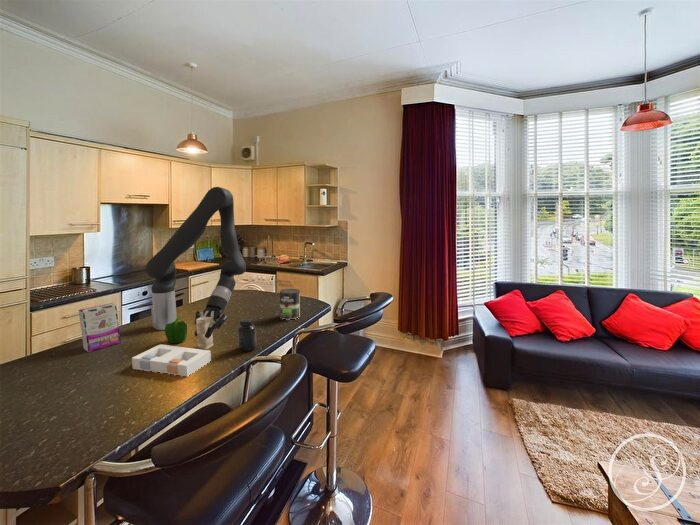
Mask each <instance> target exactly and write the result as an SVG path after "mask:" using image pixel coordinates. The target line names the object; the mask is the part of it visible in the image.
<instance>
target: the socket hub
mask: <svg viewBox="0 0 700 525" xmlns="http://www.w3.org/2000/svg"><path fill="white" fill-rule="evenodd" d="M210 361H211V362H212V354H211V350H209V349H199V348H192V347H183V346H178V345H177V346H176V345H168V344H158V345H156V346H154V347H152V348H149V349H148V350H145V351H143V352H141V353H139V354H137V355H134V356H133V357H131V365H132V366H131V367H132V370H139V371H143V370H144V371H145V372H150V371H152V373H157V372H160V373H159V374H163V373H168V374H167V375H170V374H174V375H173V376H176V375H181V376H180V377H183V376H186V377H185V378H188V377H190V376H191V375H192V373H193V374H194V373H196V372H197V371H199V370H200V369H202V368H203V367H205V366H206V365H208V364H209V363H210ZM207 363H208V364H207ZM204 365H205V366H204ZM201 367H202V368H201ZM198 369H199V370H198ZM195 371H196V372H195ZM190 374H191V375H190ZM189 375H190V376H189Z"/></svg>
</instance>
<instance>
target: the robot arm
mask: <svg viewBox="0 0 700 525" xmlns="http://www.w3.org/2000/svg"><path fill="white" fill-rule="evenodd" d="M234 203H235V202H234V195H233V194H232V192H231V191H230V190H228V189H226V188H223V187H220V186H213V187H211V188H210V189H209V190H208V191H207V192H206V194H204V197H203V198H202V199H201V200H200V203H199V204H198V205H197V207H196V208H195V209H194V210H193V211H192V212H191V213H190V214H189V216H188V217H187V218H186V220H185V221H184V222H182V224H180V226H179V227H178V228H177V230H175V232H174V233H173V235H171V237H170V238H169V240H168V241H167V242H166V243H165V244H164V246H163V247H161V249H160V250H159V251H158V252H157V253H156V254H155V255H153V256H152V257H151V258H150V259H149V260H148V261H147V263H146V266H145V271H146V274H147V276H149V277H150V278H152V279H155V280H154V282H153V284H152V285H151V290H150V291H151V300H152V307H151V320H152V328H153V329H155V330H157V331H165V326H166V324H169V323H172V322H175V320H176V318H177V317H178V316H177V305H176V304H177V302H176V292H175V291H176V290H175V286H176V283H177V272H176V263H175V261H176V259H178V258H179V257H180V256H181V255H183V254H184V253H186V252H187V251H188V250H189V249H191V248H192V247H193V246H194V245H195V244H196V243H197V242H198V241H199V240H200V238H201V237H202V236H203V235H204V233H205V231H206V229H207V226H208V223H209V221H210V219H211V218H212V217H214V215H215V214H216V213H217V212H218V213H219V217H220V228H219V229H220V230H219V239H220V240H219V241H220V244H221V250H222V253H223V255H224V256H228V257H230V260H227V261H225V262H223V263H222V266H221V268H220V273H219V280H218V281H217V284H216V285H215V287H214V289H213V290H212V292H211V294H210V296H209V299H208V301H207V302H206V304H205V309H203V310H202V311H196V312H195V317H194V322H193V323H194V325H195V326H196V319H198V318H200V317H202V316H205V317H212V319H211V323H210V326H209V327H210V328H208V330H207V332H206V334H205V337H206V338H209V337H210V336H211V334H212V333H213V332H214V330H216V329H217V330H219V329H220V328H221V327H222V325H223V324H224V323H225V322H226V321H227V320H228V315H226V314H225V313H224V312H225V311H226V308H227V305H228V303H229V301H230V299H231V295H232V293H233V290H234V288H235V286H236V279H234V278H233V276H240V275H244V274H245V272H246V269H247V266H246V265H247V264H246V261H245V259H244V256H243V254H242V252H241V250H240V247H239V243H238V237H237V236H238V235H237V232H236V224H235V212H234V208H235V207H234V206H235V204H234ZM194 336H195V337H196V338H197V328H196V329H195V331H194Z"/></svg>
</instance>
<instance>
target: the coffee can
mask: <svg viewBox="0 0 700 525" xmlns="http://www.w3.org/2000/svg"><path fill="white" fill-rule="evenodd" d="M300 293H301V291H300V289H298V288H283V289H280V290H279V311H280V312H279V313H280V314H279V317H280V319H281V318H282V319H281V320H283V319H286V320H285V321H291V320H290V319H295V320H297V319H296V318H298V317H301V314H300V313H301V310H300V309H301V306H300V305H301V303H300V302H301V298H300V296H301V295H300ZM298 319H299V318H298Z"/></svg>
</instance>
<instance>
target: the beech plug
mask: <svg viewBox="0 0 700 525" xmlns="http://www.w3.org/2000/svg"><path fill="white" fill-rule="evenodd" d="M211 319H212V317H205V316H202V317H200V318H198V319H196V325H195V326H196V329H197V337H196V338H197V340H196V341H197V349H201V350H209V349H210V348H212V347H213V346H214V338H213V336H214V334H213V332H212V334H211V336H210V337H209V338H206V337H205V334H206V332H207V330H208V328H210V327H209V326H210V323H211Z"/></svg>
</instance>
